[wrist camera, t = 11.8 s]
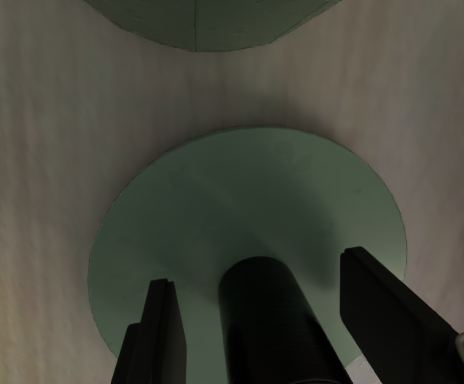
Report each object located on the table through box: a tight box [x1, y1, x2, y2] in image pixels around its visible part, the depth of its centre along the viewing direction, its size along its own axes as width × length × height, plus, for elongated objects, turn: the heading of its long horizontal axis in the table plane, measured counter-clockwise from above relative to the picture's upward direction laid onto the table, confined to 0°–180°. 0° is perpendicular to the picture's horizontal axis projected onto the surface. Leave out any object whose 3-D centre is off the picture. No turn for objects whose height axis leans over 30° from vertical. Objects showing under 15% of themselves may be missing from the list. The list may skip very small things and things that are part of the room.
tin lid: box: [88, 125, 407, 384], centre depth 9 cm, size 12×12×6 cm
